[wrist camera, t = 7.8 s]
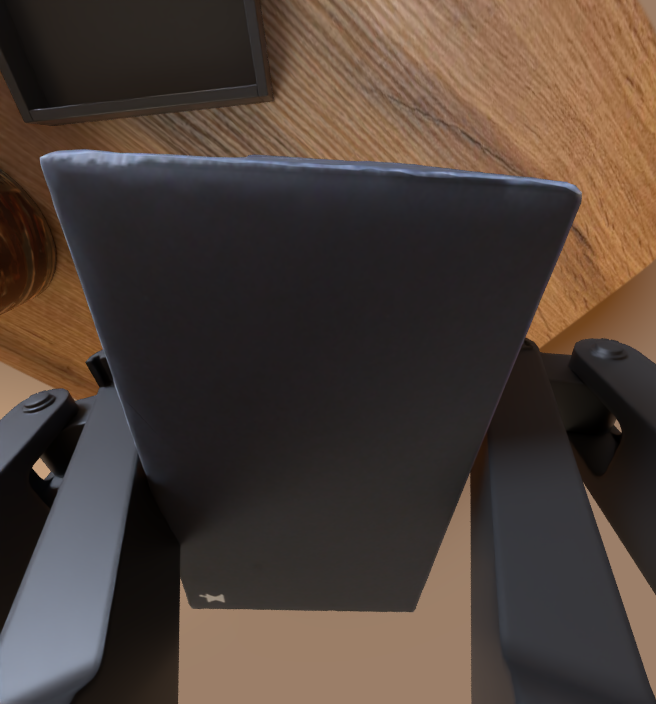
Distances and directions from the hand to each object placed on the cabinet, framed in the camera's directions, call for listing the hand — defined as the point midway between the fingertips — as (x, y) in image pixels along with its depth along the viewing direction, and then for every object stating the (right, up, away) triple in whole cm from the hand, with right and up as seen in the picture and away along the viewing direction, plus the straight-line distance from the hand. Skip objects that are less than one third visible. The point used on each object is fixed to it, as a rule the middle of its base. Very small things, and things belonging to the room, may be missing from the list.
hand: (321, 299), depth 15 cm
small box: (0, +1, 0) cm, 1 cm away
